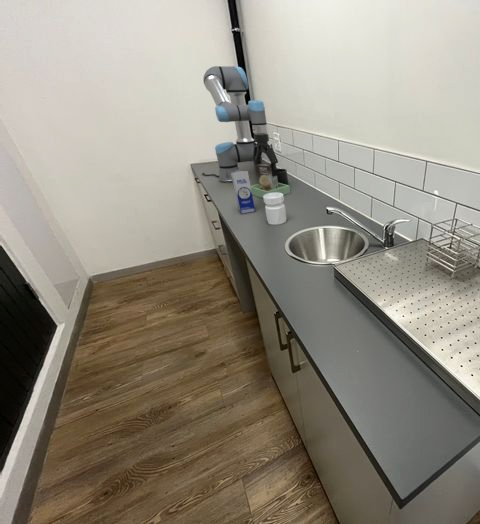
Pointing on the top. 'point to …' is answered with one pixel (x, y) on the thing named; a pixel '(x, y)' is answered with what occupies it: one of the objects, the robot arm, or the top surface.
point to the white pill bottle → (275, 208)
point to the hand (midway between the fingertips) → (267, 174)
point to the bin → (260, 193)
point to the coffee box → (266, 177)
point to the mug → (282, 176)
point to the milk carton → (243, 191)
